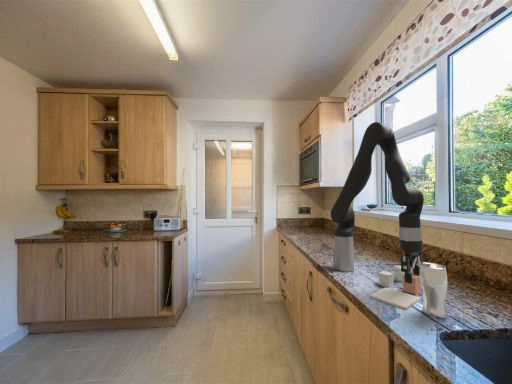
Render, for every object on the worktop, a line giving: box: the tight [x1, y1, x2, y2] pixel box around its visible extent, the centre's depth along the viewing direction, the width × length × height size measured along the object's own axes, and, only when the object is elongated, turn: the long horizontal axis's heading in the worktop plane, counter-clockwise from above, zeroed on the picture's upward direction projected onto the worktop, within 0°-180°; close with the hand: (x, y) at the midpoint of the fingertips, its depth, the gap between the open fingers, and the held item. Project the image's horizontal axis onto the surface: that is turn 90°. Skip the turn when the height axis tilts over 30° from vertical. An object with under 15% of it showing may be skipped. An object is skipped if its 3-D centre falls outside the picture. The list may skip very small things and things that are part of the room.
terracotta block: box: [402, 274, 422, 296], centre depth 88 cm, size 4×4×6 cm
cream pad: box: [369, 286, 422, 311], centre depth 82 cm, size 12×12×1 cm
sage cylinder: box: [393, 265, 404, 283], centre depth 100 cm, size 4×4×6 cm
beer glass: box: [419, 262, 448, 319], centre depth 71 cm, size 7×7×15 cm
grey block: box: [378, 270, 395, 288], centre depth 95 cm, size 4×4×5 cm
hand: (413, 280), depth 88 cm, fingers open, 8 cm apart
